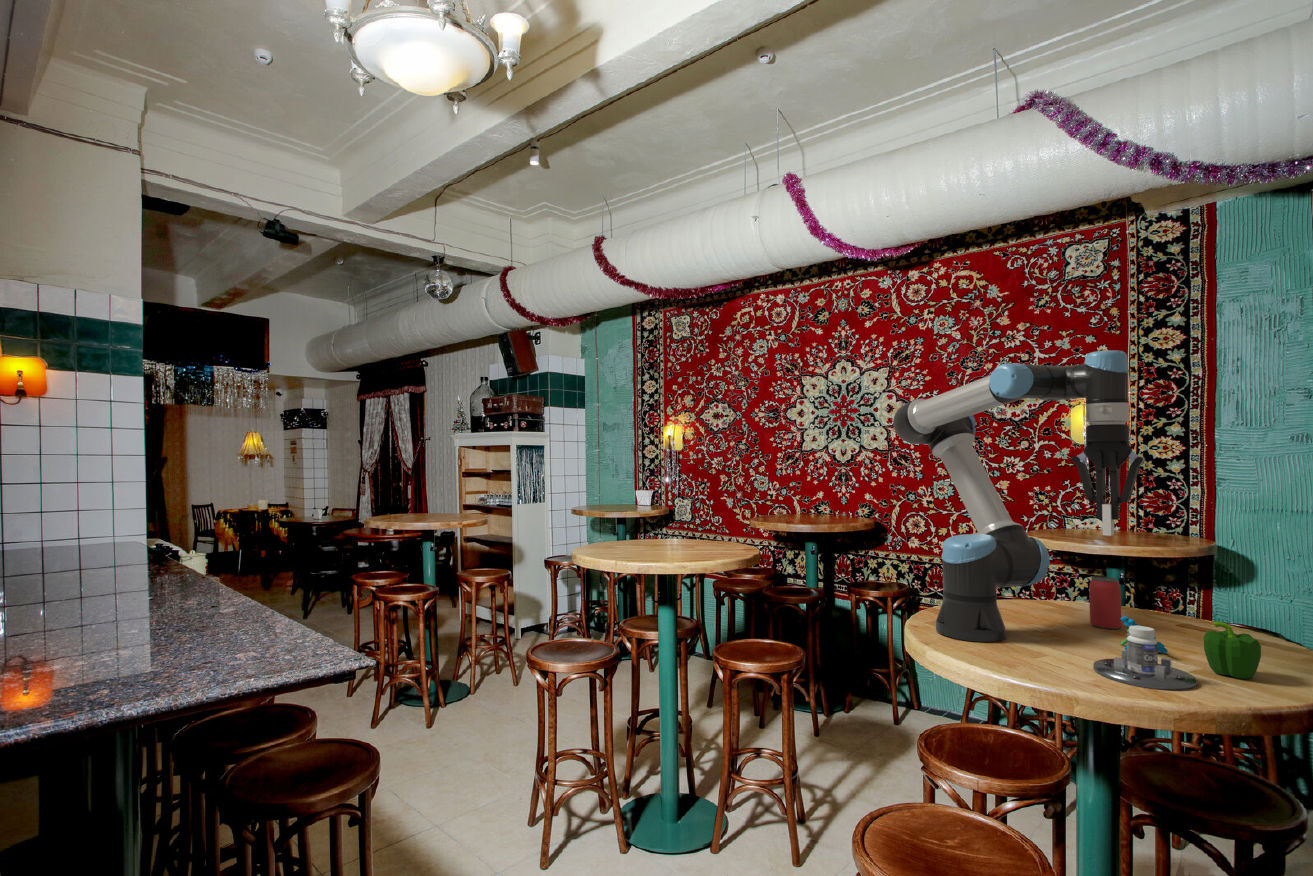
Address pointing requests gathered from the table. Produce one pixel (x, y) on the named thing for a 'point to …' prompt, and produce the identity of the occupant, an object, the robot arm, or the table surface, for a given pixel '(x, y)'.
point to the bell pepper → (1232, 652)
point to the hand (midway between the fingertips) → (1108, 534)
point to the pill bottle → (1142, 650)
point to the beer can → (1105, 602)
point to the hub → (1161, 679)
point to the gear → (1129, 623)
